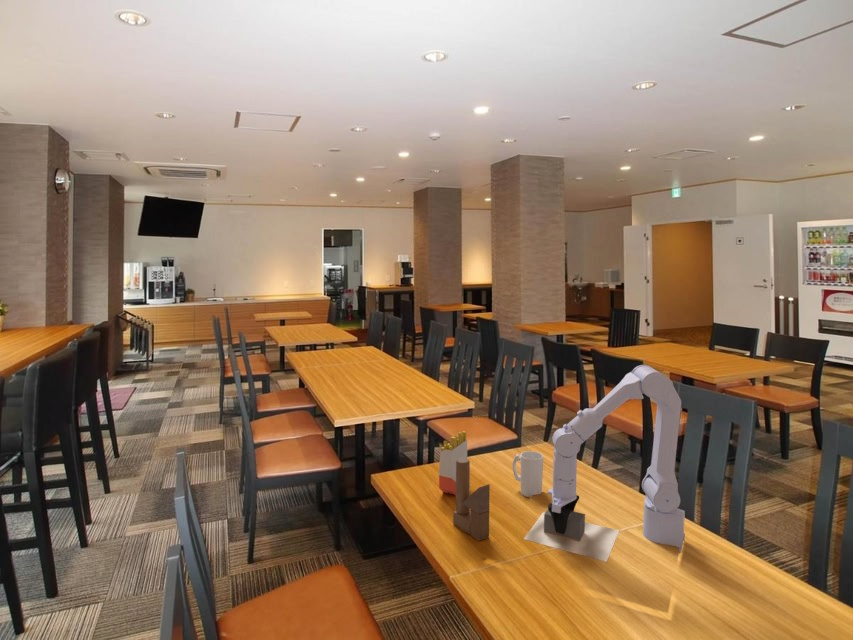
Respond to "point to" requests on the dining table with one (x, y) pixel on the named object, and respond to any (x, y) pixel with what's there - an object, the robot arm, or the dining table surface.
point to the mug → (529, 472)
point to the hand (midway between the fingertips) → (563, 527)
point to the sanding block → (573, 527)
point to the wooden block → (471, 504)
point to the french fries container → (451, 462)
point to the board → (591, 545)
